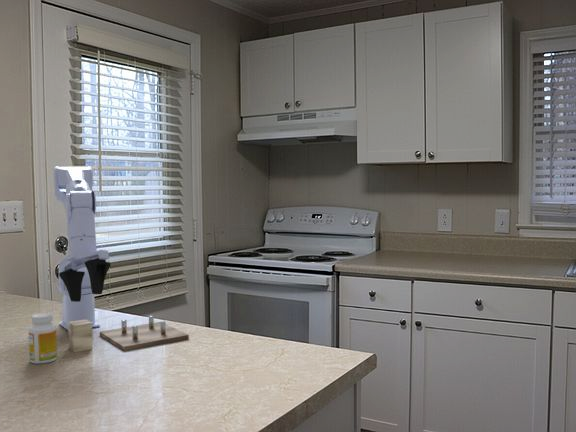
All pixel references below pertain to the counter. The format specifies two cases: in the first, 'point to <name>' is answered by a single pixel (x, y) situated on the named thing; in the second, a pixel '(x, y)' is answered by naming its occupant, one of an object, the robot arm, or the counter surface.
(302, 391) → the counter surface
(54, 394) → the counter surface
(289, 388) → the counter surface
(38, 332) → the supplement bottle
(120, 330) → the peg board
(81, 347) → the block
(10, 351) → the counter surface
